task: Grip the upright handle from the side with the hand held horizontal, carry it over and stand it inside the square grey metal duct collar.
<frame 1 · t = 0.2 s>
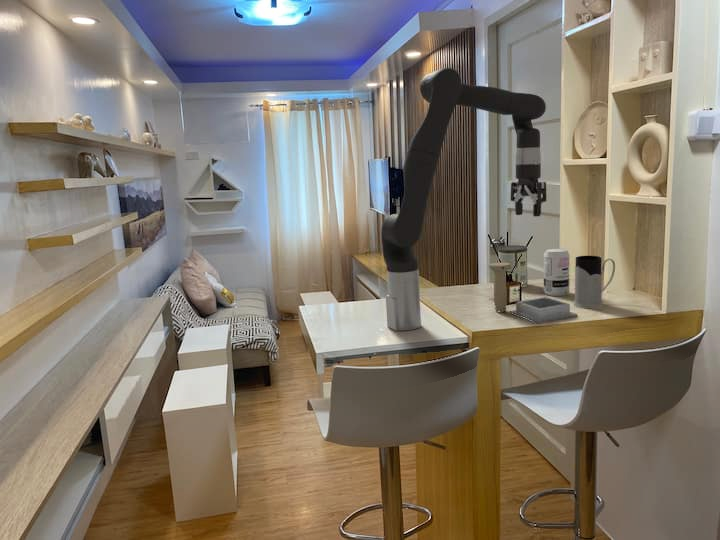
hand: (527, 215, 188), 29 cm above the table, tool pointing down, fingers open, 8 cm apart
supplement can: (556, 294, 204), on the table
duct collar: (542, 314, 181), on the table
lidded glass jar: (513, 285, 220), on the table
grey mug: (595, 304, 189), on the table
handle: (500, 312, 187), on the table
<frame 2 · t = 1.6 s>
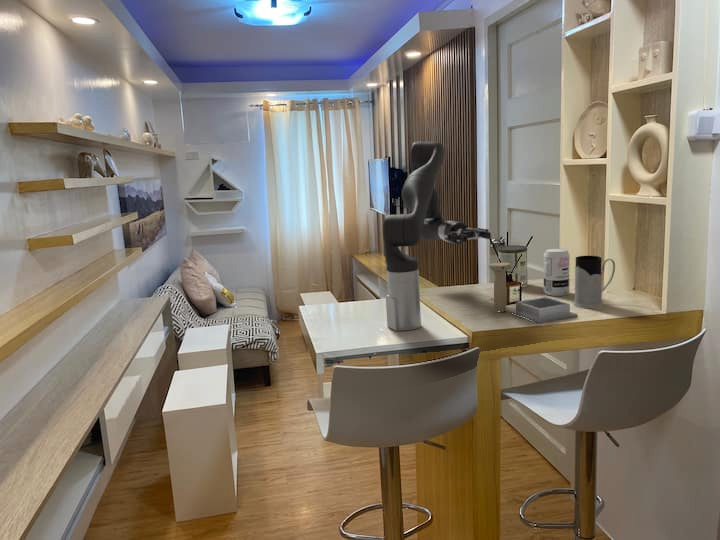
hand: (478, 237, 194), 22 cm above the table, tool horizontal, fingers open, 8 cm apart
nothing on the table moved.
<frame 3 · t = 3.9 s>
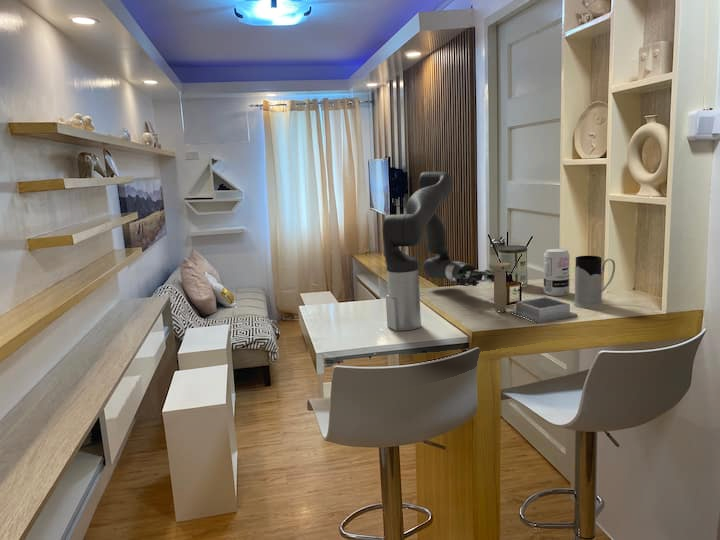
hand: (487, 281, 192), 8 cm above the table, tool horizontal, fingers open, 8 cm apart
nothing on the table moved.
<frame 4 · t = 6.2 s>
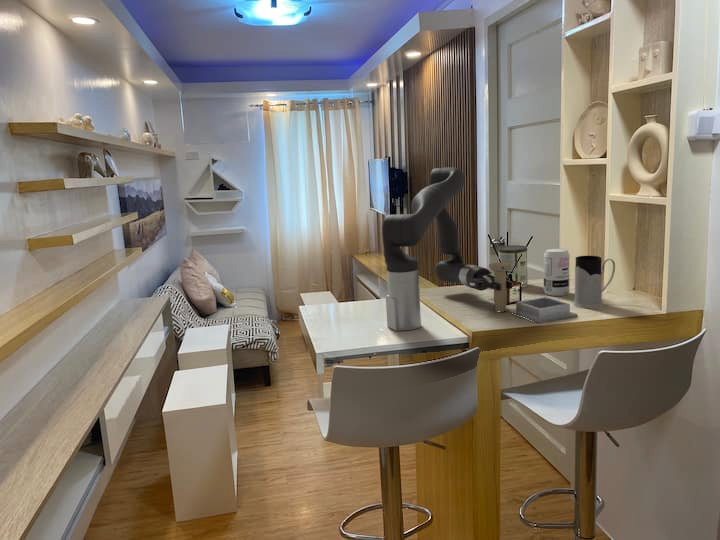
hand: (505, 286, 183), 9 cm above the table, tool horizontal, fingers closed on handle, 3 cm apart
handle: (500, 312, 187), on the table, touching gripper
everything else where it was.
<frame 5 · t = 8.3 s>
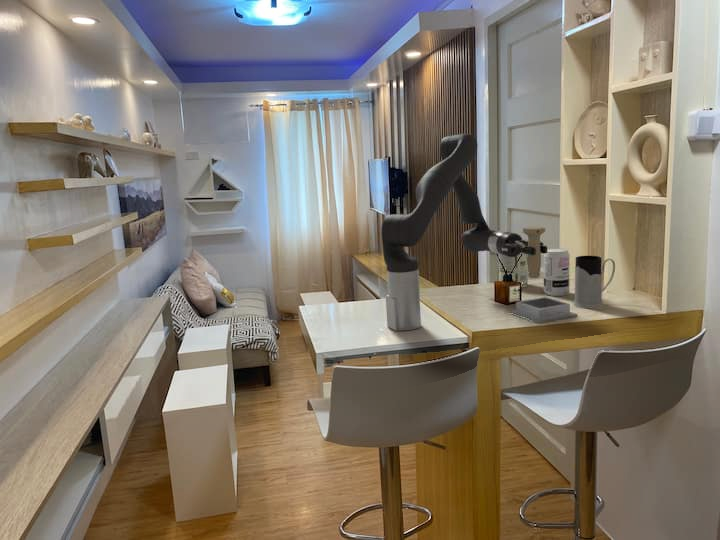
hand: (540, 250, 176), 20 cm above the table, tool horizontal, fingers closed on handle, 3 cm apart
handle: (534, 278, 180), point 11 cm above the table, touching gripper
everything else where it was.
when the fingers open (10 cm above the table, at t = 10.6 s): handle drops 1 cm, resting on duct collar.
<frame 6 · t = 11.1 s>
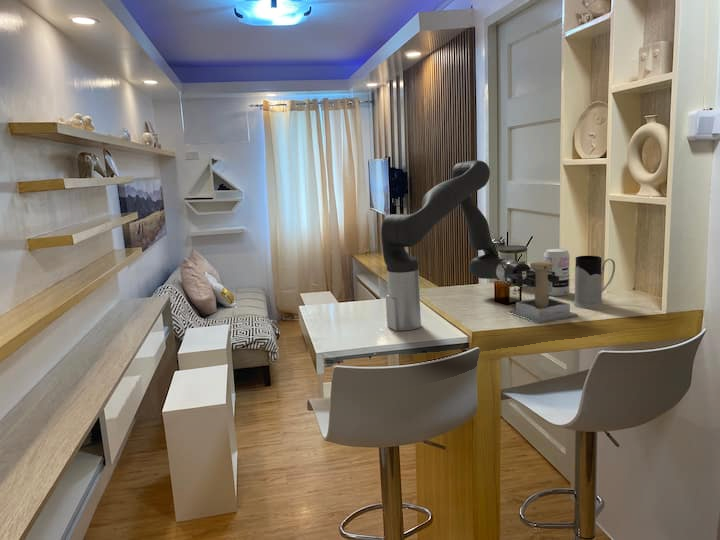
hand: (546, 281, 177), 10 cm above the table, tool horizontal, fingers open, 8 cm apart
handle: (542, 313, 181), resting on duct collar
everything else where it was.
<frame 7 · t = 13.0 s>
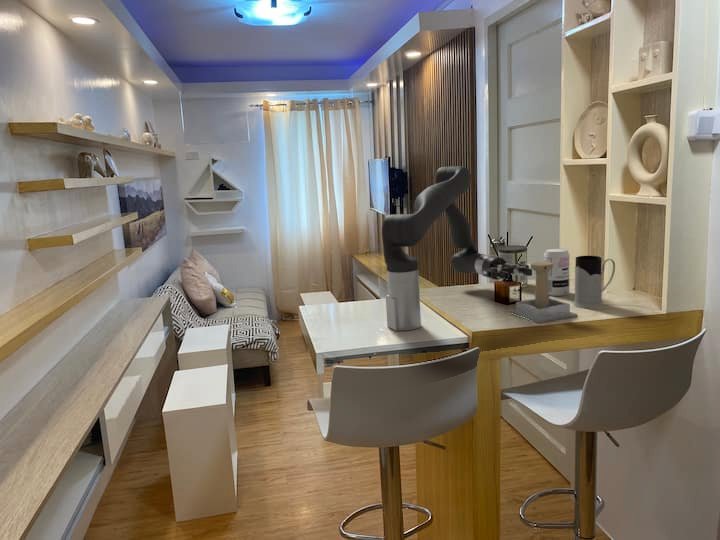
hand: (519, 274, 189), 11 cm above the table, tool horizontal, fingers open, 8 cm apart
nothing on the table moved.
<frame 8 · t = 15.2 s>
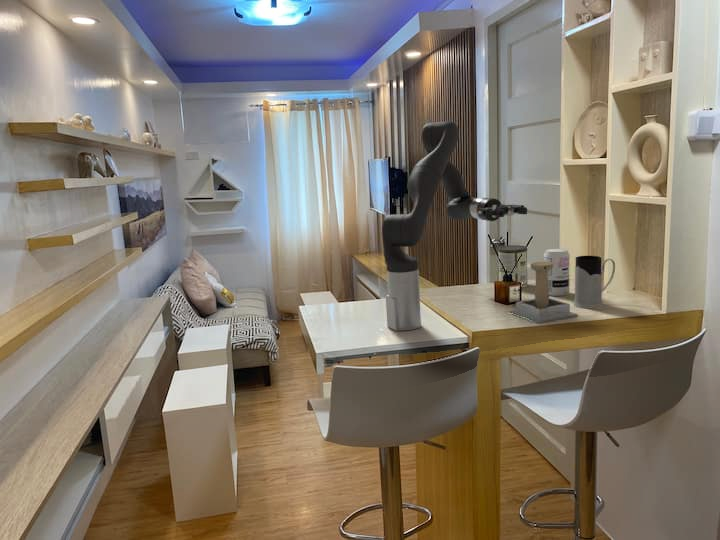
hand: (514, 212, 187), 30 cm above the table, tool horizontal, fingers open, 8 cm apart
nothing on the table moved.
at the end: handle inside the target area on the duct collar (0.2 cm from its centre), point 0.4 cm above the duct collar's base; handle tilted 0°; the gripper is holding nothing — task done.
